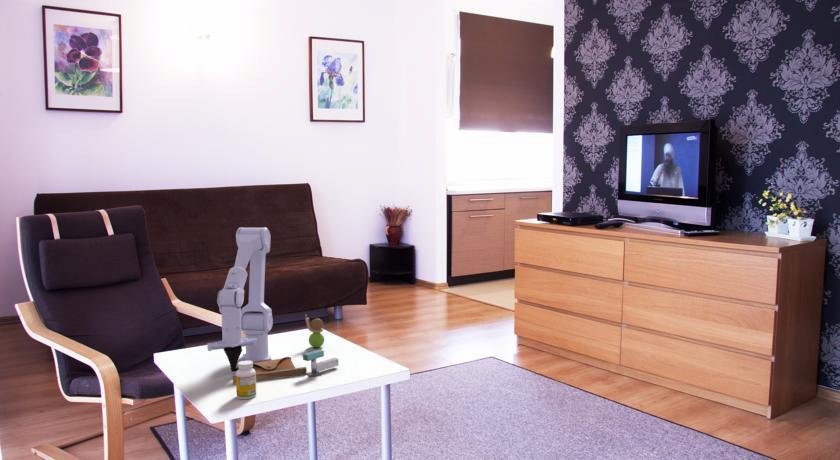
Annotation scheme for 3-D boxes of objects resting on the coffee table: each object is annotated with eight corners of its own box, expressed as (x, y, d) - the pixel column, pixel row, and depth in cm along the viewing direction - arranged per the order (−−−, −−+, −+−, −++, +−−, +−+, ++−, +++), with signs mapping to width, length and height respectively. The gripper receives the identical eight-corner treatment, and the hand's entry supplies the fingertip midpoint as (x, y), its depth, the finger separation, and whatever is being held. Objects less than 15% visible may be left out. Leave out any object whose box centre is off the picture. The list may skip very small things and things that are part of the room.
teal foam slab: (334, 364, 213) (333, 345, 212) (338, 366, 212) (338, 346, 211) (303, 374, 204) (302, 354, 203) (308, 375, 202) (307, 355, 202)
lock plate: (306, 373, 206) (306, 372, 206) (318, 372, 208) (318, 371, 208) (309, 377, 203) (309, 376, 203) (321, 375, 204) (321, 374, 204)
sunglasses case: (243, 382, 199) (239, 360, 201) (238, 388, 204) (234, 367, 206) (300, 372, 208) (296, 351, 210) (294, 378, 213) (290, 358, 216)
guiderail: (232, 382, 198) (232, 376, 198) (305, 373, 207) (305, 366, 207) (233, 384, 197) (233, 377, 197) (306, 374, 206) (306, 367, 206)
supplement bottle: (238, 393, 189) (237, 360, 188) (257, 392, 190) (256, 359, 189) (235, 400, 184) (233, 365, 183) (254, 399, 184) (253, 364, 183)
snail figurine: (306, 345, 238) (305, 312, 237) (324, 345, 239) (323, 312, 238) (305, 349, 233) (304, 316, 232) (324, 349, 234) (323, 315, 233)
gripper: (208, 332, 197) (210, 377, 198) (258, 327, 202) (259, 371, 204) (205, 327, 203) (207, 371, 205) (254, 322, 209) (255, 365, 210)
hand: (233, 370), depth 205 cm, fingers closed
